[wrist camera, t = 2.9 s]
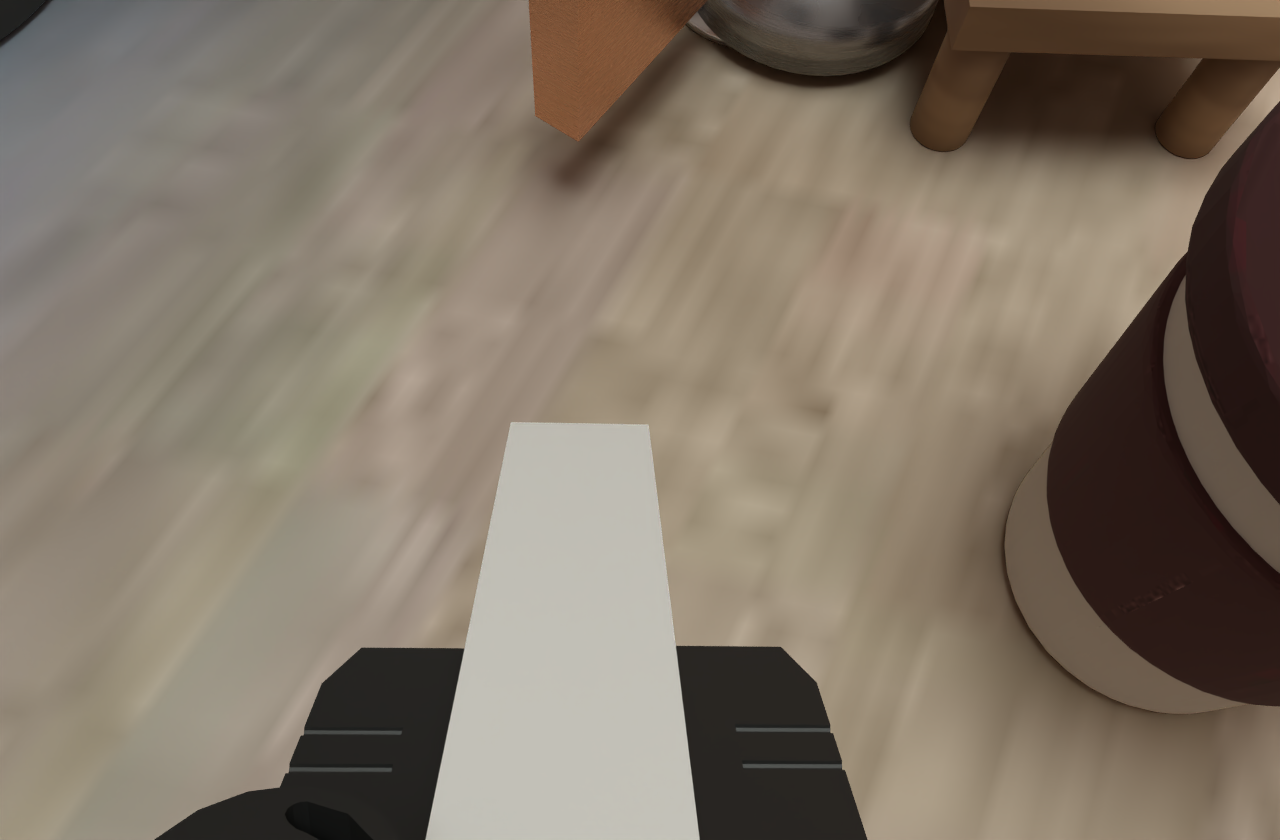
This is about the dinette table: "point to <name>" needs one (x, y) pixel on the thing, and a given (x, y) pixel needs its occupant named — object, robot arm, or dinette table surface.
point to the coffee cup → (1173, 477)
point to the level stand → (1105, 25)
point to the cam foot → (734, 10)
